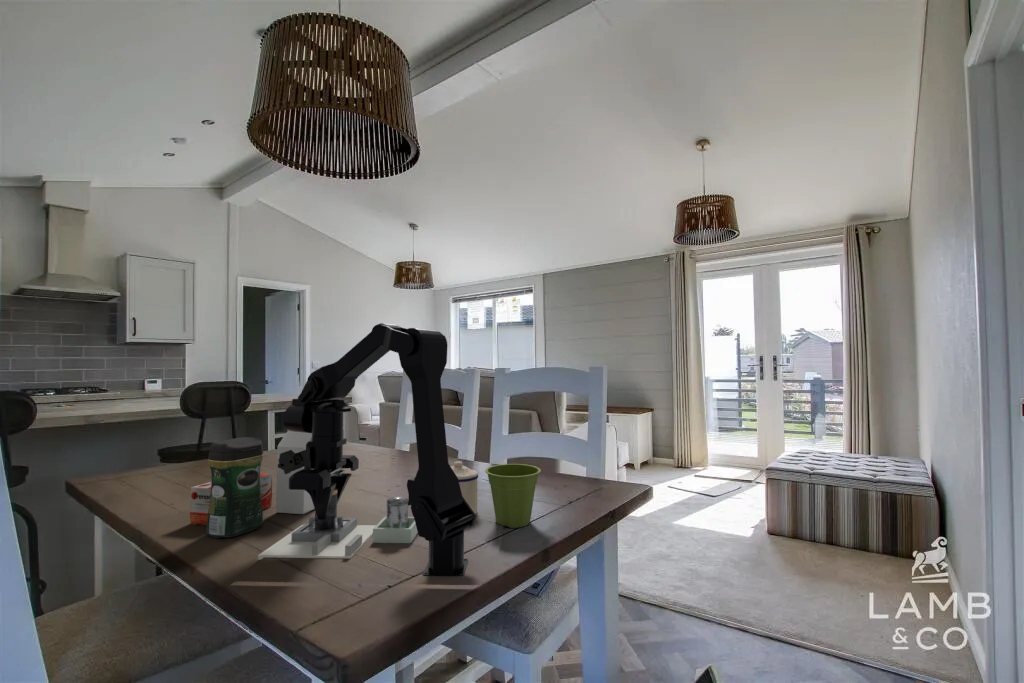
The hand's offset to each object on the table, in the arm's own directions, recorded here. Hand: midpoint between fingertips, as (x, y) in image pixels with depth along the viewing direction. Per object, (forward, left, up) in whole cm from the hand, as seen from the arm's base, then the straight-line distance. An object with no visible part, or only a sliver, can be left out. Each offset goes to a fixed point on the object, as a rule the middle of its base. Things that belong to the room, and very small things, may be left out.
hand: (326, 515), depth 93 cm
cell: (0, 0, -2) cm, 2 cm away
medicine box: (+13, +27, -5) cm, 30 cm away
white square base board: (-3, -1, -4) cm, 5 cm away
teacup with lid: (+16, -22, -4) cm, 28 cm away
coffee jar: (+3, +20, -4) cm, 21 cm away
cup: (0, -14, -4) cm, 15 cm away
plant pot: (+10, -36, -4) cm, 38 cm away
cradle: (0, 0, -3) cm, 3 cm away
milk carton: (+18, +14, -4) cm, 23 cm away
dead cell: (0, -14, -4) cm, 14 cm away
